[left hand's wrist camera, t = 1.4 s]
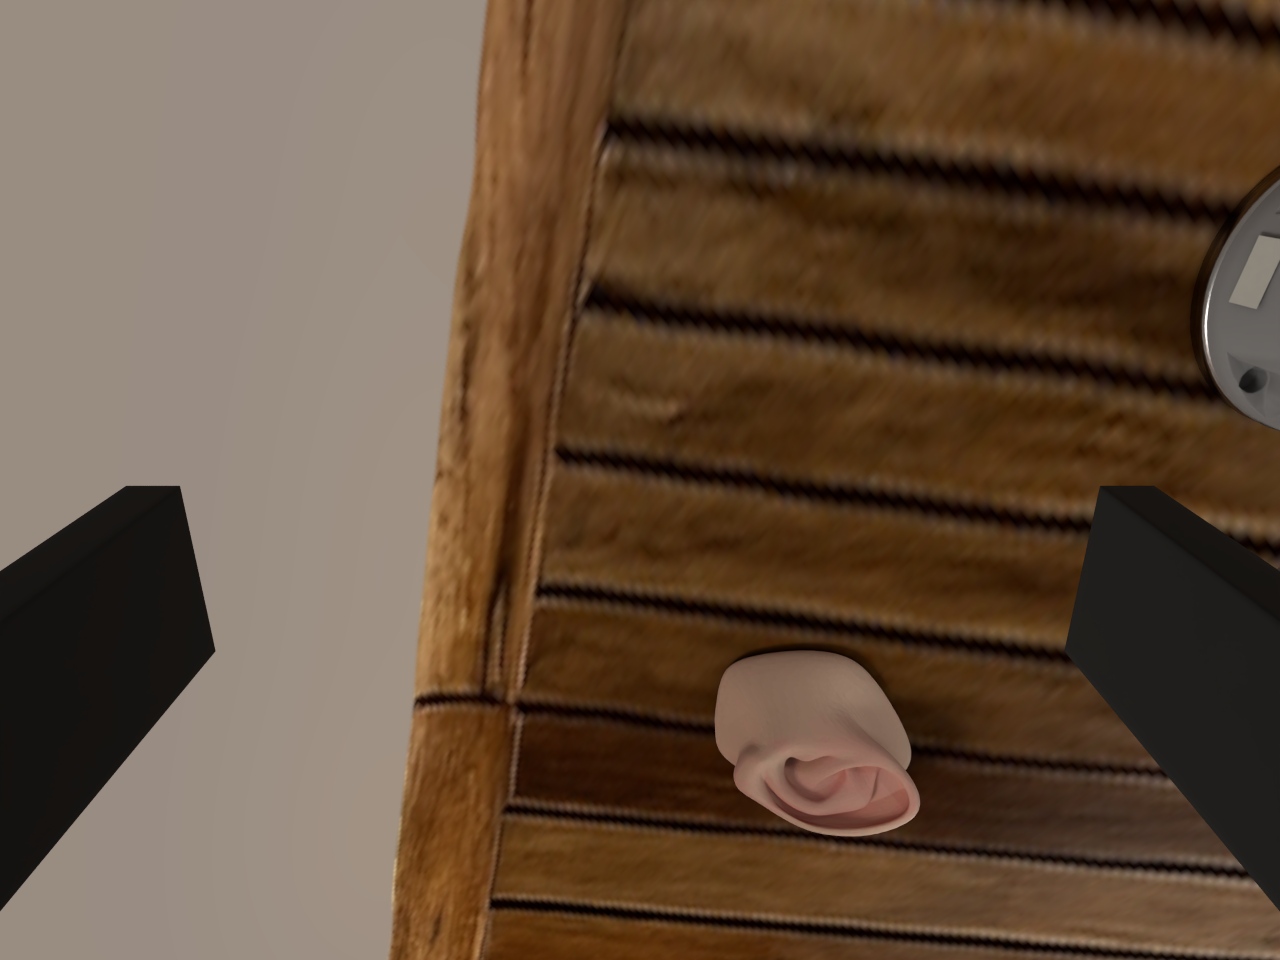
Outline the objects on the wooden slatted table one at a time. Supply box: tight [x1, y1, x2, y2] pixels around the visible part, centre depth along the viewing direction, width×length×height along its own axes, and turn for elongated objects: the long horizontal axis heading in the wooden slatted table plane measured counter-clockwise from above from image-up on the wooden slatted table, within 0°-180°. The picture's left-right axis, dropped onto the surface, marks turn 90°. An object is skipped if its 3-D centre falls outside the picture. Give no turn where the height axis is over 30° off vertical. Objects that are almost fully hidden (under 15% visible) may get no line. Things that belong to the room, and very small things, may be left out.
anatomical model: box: [715, 650, 920, 836], centre depth 53 cm, size 13×4×12 cm
